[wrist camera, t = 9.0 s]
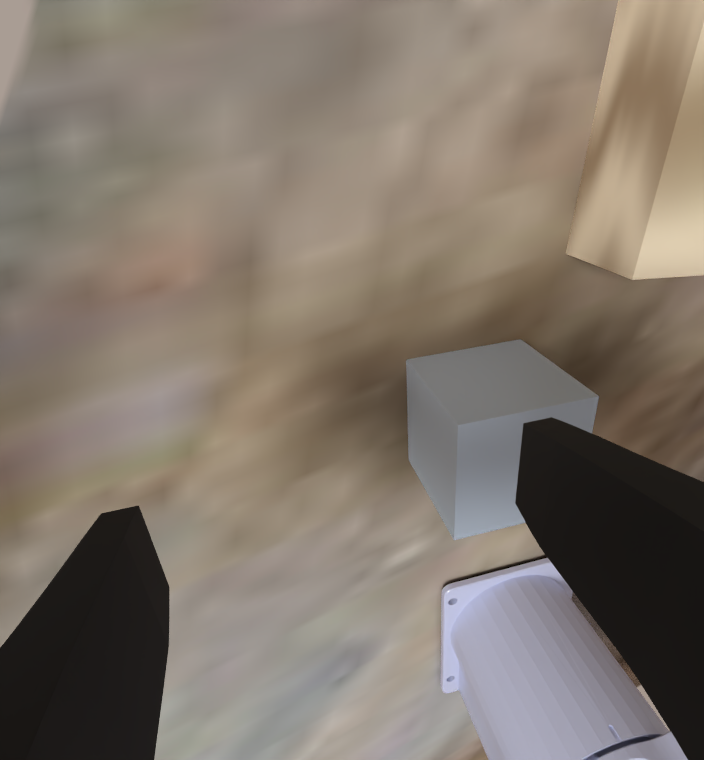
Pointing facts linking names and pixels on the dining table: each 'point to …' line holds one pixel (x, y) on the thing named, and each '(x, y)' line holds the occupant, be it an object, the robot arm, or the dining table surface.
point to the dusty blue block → (483, 427)
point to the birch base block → (647, 147)
